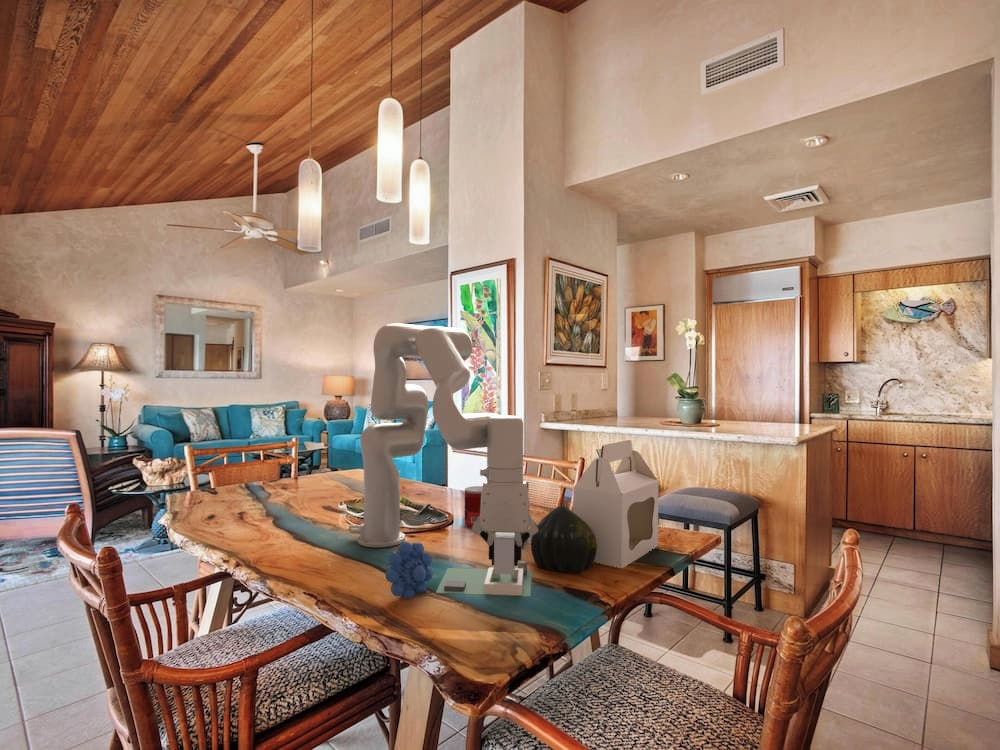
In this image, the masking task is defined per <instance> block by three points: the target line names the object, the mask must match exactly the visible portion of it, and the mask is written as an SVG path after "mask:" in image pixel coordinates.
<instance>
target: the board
mask: <svg viewBox="0 0 1000 750" xmlns="http://www.w3.org/2000/svg"><path fill="white" fill-rule="evenodd" d="M517 568H523V587H522V595H501V596H502V597H503V596H506V597H507V596H509V597H531V592H532V591H531V590H532V574H533V573H532V572H533V571H532V570H528V562H527V561H525V560H521V561H518V566H517ZM488 569H489V568H488ZM488 569H486V568H485V569H484V568H457V567H456V568H455V567H451V568H450V567H447V568H446V571H445V573H444V575H443V577H442V578H441V581H440V583H439V585H438V587H437V588H436V591H435V594H452V595H453V594H455V595H475V596H476V595H480V596H482V595H483V596H496V595H495V594H484V583H485V579H486V576H487V572H488ZM492 582H495V583H517V579H511V574H501V577H500V579H497V578H493V580H492Z"/></svg>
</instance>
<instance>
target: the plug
mask: <svg viewBox="0 0 1000 750" xmlns="http://www.w3.org/2000/svg"><path fill="white" fill-rule="evenodd" d="M514 546H515V533H502V532H495V537H494V565H493V567H494V574H514V570H515V568H516V566H515V565H514Z"/></svg>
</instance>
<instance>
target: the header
mask: <svg viewBox="0 0 1000 750" xmlns="http://www.w3.org/2000/svg"><path fill="white" fill-rule="evenodd" d="M500 577H501V574H494V566H493V567H489V566H488V572H487V576H486V579H485V583H484V594H495V595H494V596H502V595H522V587H523V568H518V567H515V570H514V574H511V579H517V583H495V582H492V580H493V578H497V579H500Z"/></svg>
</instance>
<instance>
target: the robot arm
mask: <svg viewBox="0 0 1000 750" xmlns="http://www.w3.org/2000/svg"><path fill="white" fill-rule="evenodd" d="M473 346H474V345H473V341H472V339H471V336H470V335H469V333H467V332H466V331H465V330H464V329H462V328H460V327H459V328H458V327H450V326H449V327H448V326H438V325H435V326H432V325H431V326H429V325H418V324H417V325H416V324H409V323H389V324H385V325H383V326H381V327H380V328H379V329H378V331H377V332H376V334H375V336H374V341H373V357H374V373H373V374H374V375H373V380H372V381H373V382H372V389H371V398H370V411H371V412H370V413H371V415H372V416H373V418H375V419H378V420H381V421H392V420H393V421H395V420H397V421H399V420H401V421H402V422H386V423H378V424H377V423H376V424H373V425H369V426H367V427H366V428H364V429H363V431H362V432H361V434H360V439H359V440H360V441H359V443H360V444H359V445H360V452H361V456H362V462H363V465H362V466H363V523H360V524H353V523H352V524H349V526H348V531H349V533H350V534H358V536H357V544H358V545H360V546H362V547H367V548H388V547H393V546H398V545H400V544H401V543H402V542H406V534H405V533H403V532H402V531H400V529H401V528H400V527H401V526H400V517H401V516H400V515H401V514H400V512H401V510H400V509H401V508H400V507H401V506H400V505H401V504H400V503H401V498H400V496H401V495H400V494H401V482H400V481H401V478H400V477H401V475H400V471H399V470H398V467H397V466H396V464H395V463H394V460H393V459H396V458H405V457H410V456H414V455H417V454H418V453H419V452H421V450H422V449H423V445H424V440H425V434H426V427H427V419H428V413H429V400H428V399H429V398H428V395H427V392H426V391H425V390H424V388H423V387H421V386H420V385H417V384H407V377H408V369H407V364H406V363H405V361H404V360H405V359H404V358H412V359H413V358H414V359H421V360H422V362H423V364H424V366H425V368H426V370H427V372H428V373H429V375H430V377H431V379H432V382H433V384H434V385H435V387H436V389H435V392H434V393H433V397H432V398H433V399H432V415H433V420H434V422H435V424H436V426H437V428H438V430H439V433H440V434H441V436H442V438H443V440H444V441H445V442H446V443H447V444H448V446H450V447H451V448H453V449H454V450H458V451H459V450H470V449H480V448H487V449H486V460H487V461H486V467H485V468H480V470H479V476H483V477H485V479H486V480H484V481H483V483H482V486H483V487H482V493H481V506H480V516H479V517H478V519H477V520H476V522H475V523H474V525H473V526H472V528H471V530H472V532H474V533H476V534H477V535H479V536H480V537H481V539H483V540H484V542H485V543H486V544H487V545H488V561H489V560H490V561H491V566H494V538H495V535H496V532H502V533H515V539H516V541H515V546H514V565H515V567H518V562H519V561H522V549H521V546H522V544H523V543H524V542H525V541H526V540H527V539H528V540H529V538H530V537H532V535H534V534H535V533H537V532H538V530H539V528H538V526H537V525H538V524H537V523H536V522H535V520H534V519H533V517H532V515H531V514H530V513H531V512H530V511H531V510H530V497H529V495H530V494H529V486H528V487H527V483H526V482H527V481H526V480H524V422H523V419H522V418H521V417H520V416H518V415H509V414H508V415H507V414H506V415H505V414H504V415H501V414H498V413H495V412H475V413H474V412H473V413H461V412H460V410H459V409H458V406H457V405H456V403H455V400H454V397H453V395H454V394H455V393H457V392H459V391H460V390H461V389H463V388H464V387H465V386H466V385H467V384H468V382H469V381H470V378H471V372H470V369H469V367H468V365H467V364H466V363H465V361H466V360H468V359H469V358H470V357H471V355H472V353H473ZM523 532H524V533H523ZM522 533H523V534H522Z"/></svg>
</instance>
